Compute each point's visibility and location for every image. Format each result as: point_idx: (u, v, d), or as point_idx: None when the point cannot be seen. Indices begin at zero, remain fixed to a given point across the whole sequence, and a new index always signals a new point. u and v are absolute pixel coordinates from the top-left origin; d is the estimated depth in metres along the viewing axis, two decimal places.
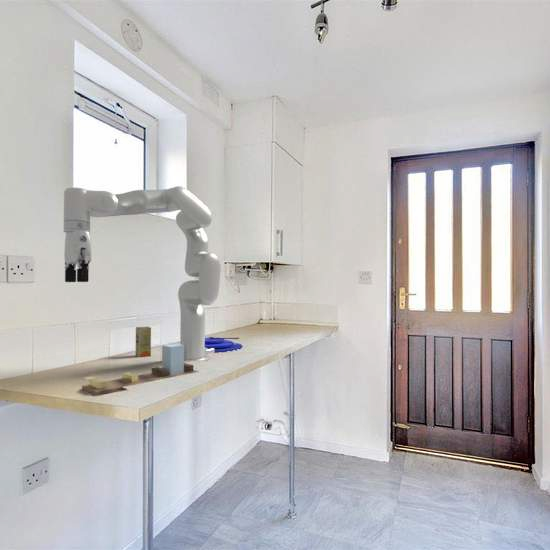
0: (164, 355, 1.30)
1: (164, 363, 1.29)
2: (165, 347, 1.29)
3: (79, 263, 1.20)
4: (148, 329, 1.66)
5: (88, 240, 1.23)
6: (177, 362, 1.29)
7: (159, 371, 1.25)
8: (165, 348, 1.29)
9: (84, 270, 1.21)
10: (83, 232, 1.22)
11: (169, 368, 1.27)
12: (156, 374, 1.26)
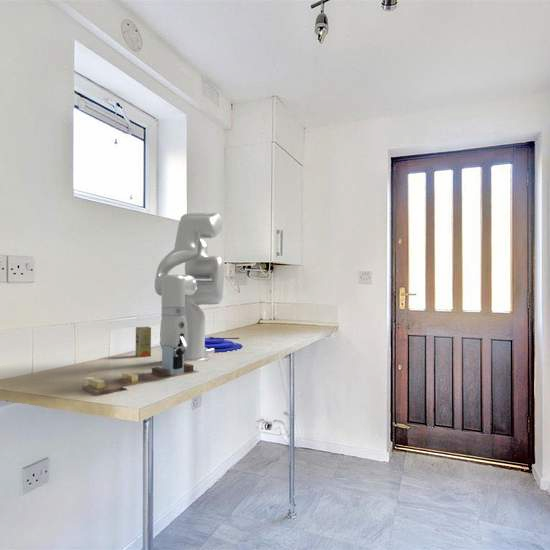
0: (164, 355, 1.30)
1: (164, 363, 1.29)
2: (165, 347, 1.29)
3: (176, 352, 1.27)
4: (148, 329, 1.66)
5: (185, 325, 1.29)
6: None
7: (159, 371, 1.25)
8: (165, 348, 1.29)
9: (179, 358, 1.28)
10: (181, 318, 1.28)
11: (169, 368, 1.27)
12: (156, 374, 1.26)
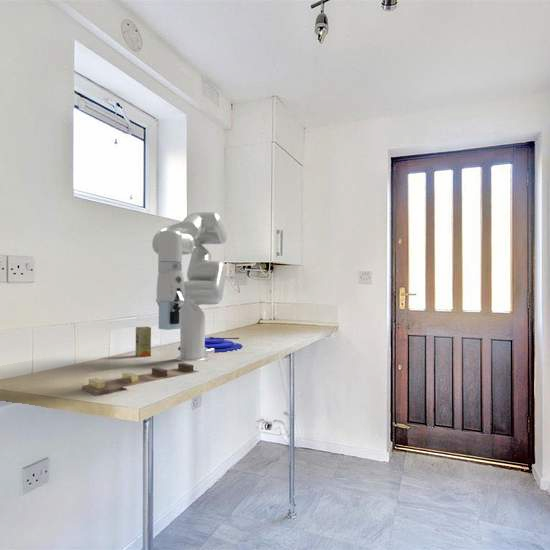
0: (160, 310, 1.29)
1: (161, 319, 1.29)
2: (162, 302, 1.28)
3: (173, 306, 1.26)
4: (148, 329, 1.66)
5: (182, 280, 1.28)
6: None
7: (159, 371, 1.25)
8: (162, 303, 1.28)
9: (176, 313, 1.27)
10: (178, 273, 1.27)
11: (166, 323, 1.27)
12: (156, 374, 1.26)
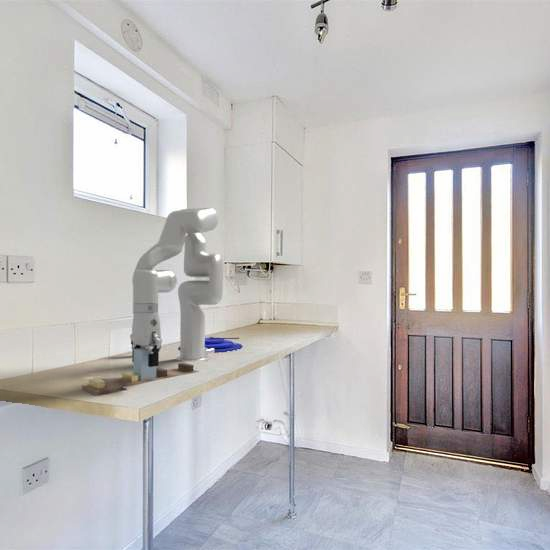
0: (135, 359, 1.23)
1: (135, 368, 1.22)
2: (136, 351, 1.22)
3: (150, 348, 1.19)
4: None
5: (158, 323, 1.22)
6: (149, 367, 1.22)
7: (159, 371, 1.25)
8: (136, 352, 1.22)
9: (155, 355, 1.20)
10: (153, 315, 1.21)
11: (140, 373, 1.20)
12: (156, 374, 1.26)
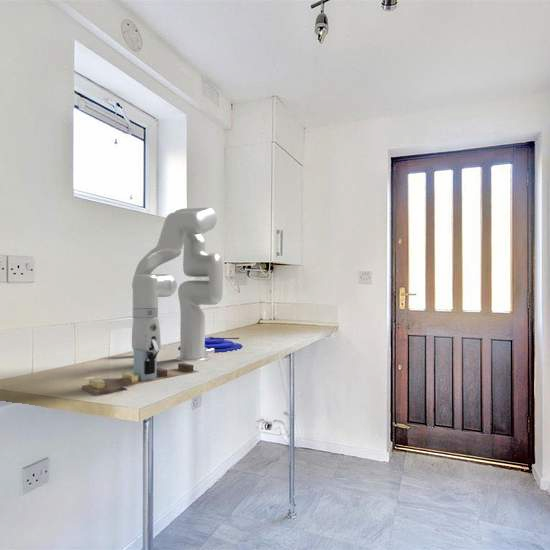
0: (135, 359, 1.23)
1: (136, 368, 1.22)
2: (136, 351, 1.22)
3: (147, 356, 1.20)
4: None
5: (158, 328, 1.22)
6: None
7: (159, 371, 1.25)
8: (136, 352, 1.22)
9: (151, 362, 1.21)
10: (153, 320, 1.21)
11: (140, 373, 1.20)
12: None
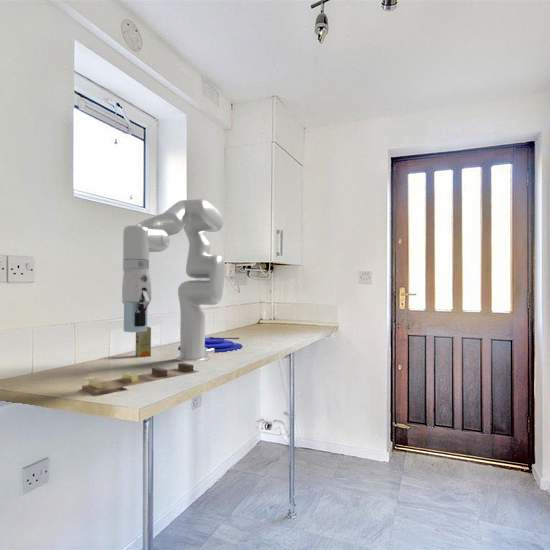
0: (125, 311, 1.20)
1: (126, 320, 1.20)
2: (127, 303, 1.20)
3: (138, 307, 1.18)
4: (148, 329, 1.66)
5: (148, 279, 1.19)
6: None
7: (159, 371, 1.25)
8: (127, 304, 1.20)
9: (142, 314, 1.19)
10: (144, 271, 1.19)
11: (130, 325, 1.18)
12: (156, 374, 1.26)
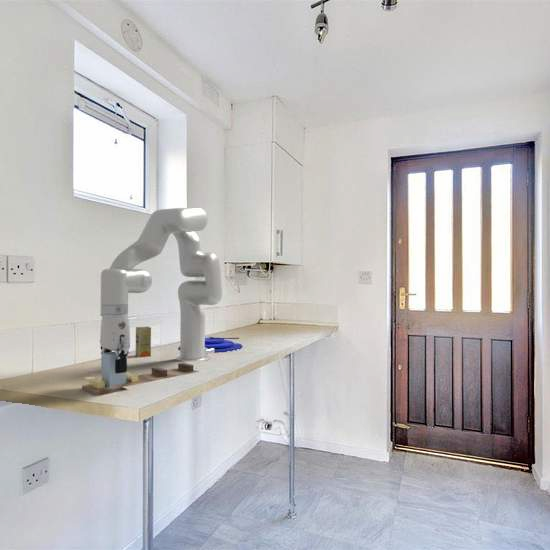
0: (103, 364, 1.15)
1: (104, 373, 1.15)
2: (104, 355, 1.15)
3: (118, 353, 1.12)
4: (148, 329, 1.66)
5: (127, 325, 1.14)
6: None
7: (159, 371, 1.25)
8: (104, 356, 1.15)
9: (123, 360, 1.12)
10: (122, 317, 1.13)
11: (108, 379, 1.13)
12: (156, 374, 1.26)
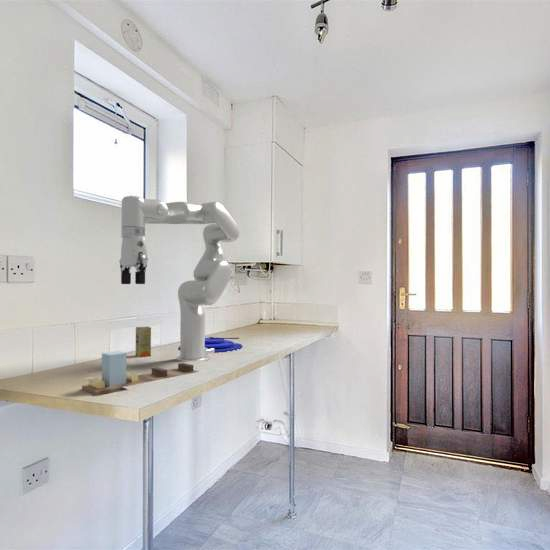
0: (103, 364, 1.15)
1: (104, 373, 1.15)
2: (104, 355, 1.15)
3: (137, 266, 1.29)
4: (148, 329, 1.66)
5: (144, 245, 1.32)
6: (118, 372, 1.14)
7: (159, 371, 1.25)
8: (104, 356, 1.15)
9: (142, 273, 1.30)
10: (140, 237, 1.31)
11: (108, 379, 1.13)
12: (156, 374, 1.26)
